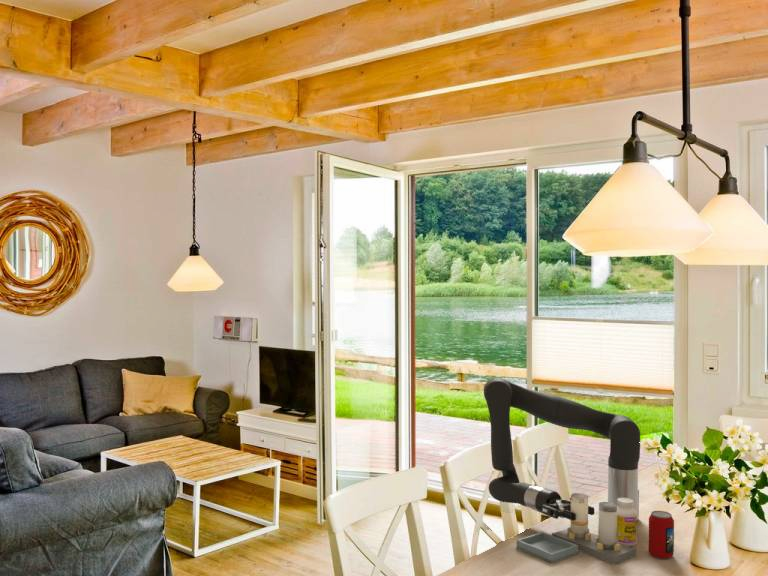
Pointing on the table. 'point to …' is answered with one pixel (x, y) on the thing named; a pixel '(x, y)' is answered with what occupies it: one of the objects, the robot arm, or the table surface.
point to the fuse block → (597, 547)
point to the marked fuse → (579, 515)
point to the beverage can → (661, 535)
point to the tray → (547, 547)
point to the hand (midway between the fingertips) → (584, 514)
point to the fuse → (607, 525)
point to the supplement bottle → (626, 522)
